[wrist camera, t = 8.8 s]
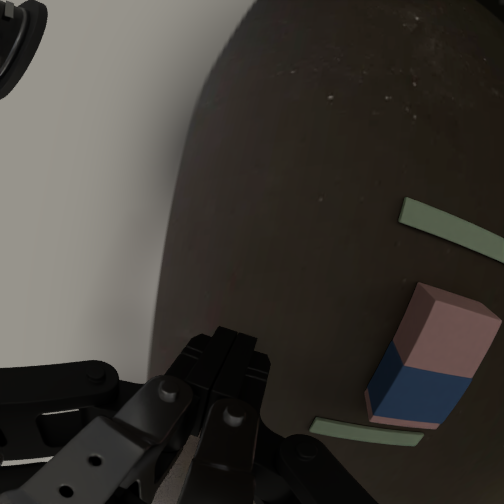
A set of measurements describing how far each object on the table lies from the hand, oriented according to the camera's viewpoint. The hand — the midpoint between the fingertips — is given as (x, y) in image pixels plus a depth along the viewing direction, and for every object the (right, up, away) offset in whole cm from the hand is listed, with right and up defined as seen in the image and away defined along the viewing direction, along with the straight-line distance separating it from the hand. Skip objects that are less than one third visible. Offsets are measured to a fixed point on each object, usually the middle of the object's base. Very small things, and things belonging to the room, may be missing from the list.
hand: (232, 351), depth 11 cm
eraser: (+10, -2, +3) cm, 10 cm away
